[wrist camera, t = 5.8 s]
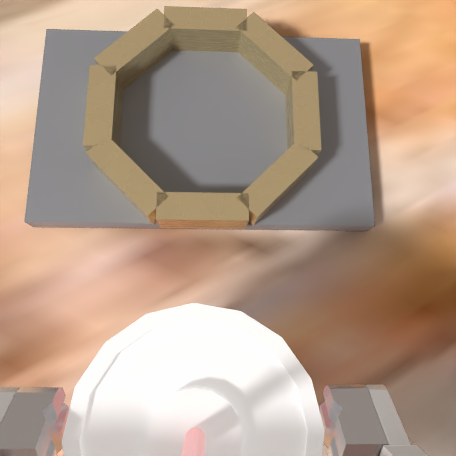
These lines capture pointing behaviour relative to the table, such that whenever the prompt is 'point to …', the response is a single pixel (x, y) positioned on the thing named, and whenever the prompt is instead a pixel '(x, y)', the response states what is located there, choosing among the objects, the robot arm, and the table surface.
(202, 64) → the board
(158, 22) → the socket
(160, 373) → the beverage cup
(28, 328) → the table surface
